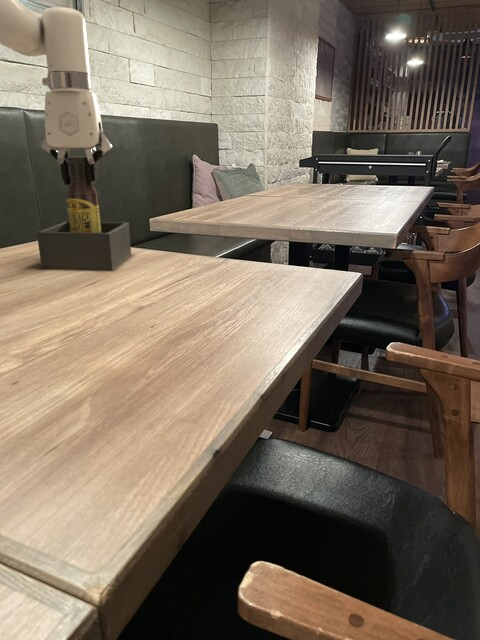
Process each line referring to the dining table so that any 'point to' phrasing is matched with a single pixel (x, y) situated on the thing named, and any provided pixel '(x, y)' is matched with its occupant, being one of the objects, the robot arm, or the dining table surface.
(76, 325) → the dining table surface
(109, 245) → the tub
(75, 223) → the sauce bottle
